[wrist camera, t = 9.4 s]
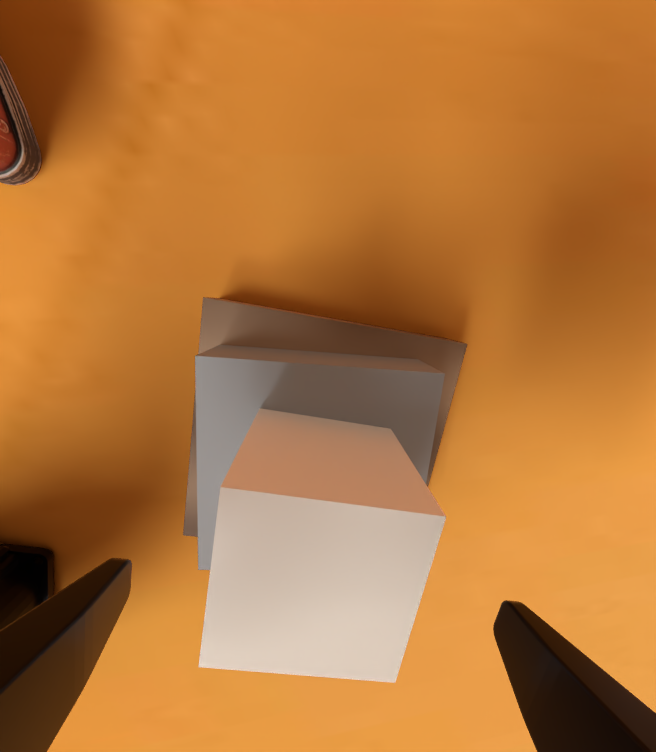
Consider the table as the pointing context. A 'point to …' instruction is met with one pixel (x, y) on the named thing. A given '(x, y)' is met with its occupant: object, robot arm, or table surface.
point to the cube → (318, 551)
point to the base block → (317, 334)
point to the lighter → (15, 135)
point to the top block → (303, 406)
